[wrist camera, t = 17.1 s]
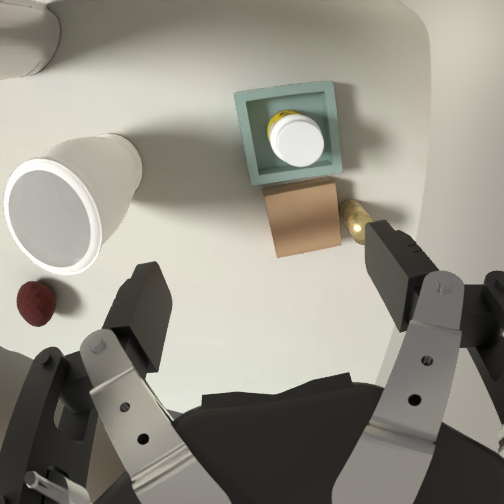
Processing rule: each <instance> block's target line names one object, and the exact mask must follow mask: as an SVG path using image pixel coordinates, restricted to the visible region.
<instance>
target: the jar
mask: <svg viewBox="0 0 504 504" xmlns="http://www.w3.org/2000/svg"><path fill="white" fill-rule="evenodd" d="M141 178H142V162H141V158H140V156H139V153H138V151H137V150H136V148H135V147H134V146H133V145H132V144H131V143H130V142H129V141H128V140H127V139H125V138H123V137H121V136H119V135H115V134H103V135H100V136H97V137H86V138H77V139H72V140H68V141H65V142H62V143H60V144H58V145H56V146H54V147H52V148H50V149H49V150H47V151H46V152H44V153H43V154H42V155H41V156H39V157H35V158H31V159H29V160H27V161H25V162H23V163H22V164H21V165H20V166H18V167H17V168H16V169H15V170H14V171H13V172H12V174H11V175H10V177H9V179H8V181H7V183H6V186H5V190H4V196H3V211H4V217H5V221H6V224H7V227H8V230H9V232H10V235H11V237H12V238H13V240H14V242H15V244H16V245H17V246H18V248H19V249H20V250H21V252H22V253H23V254H24V255H25V256H26V257H27V258H28V259H29V260H30V261H31V262H33V263H34V264H35V265H37V266H38V267H40V268H42V269H44V270H46V271H48V272H51V273H54V274H59V275H73V274H77V273H80V272H82V271H84V270H85V269H87V268H88V267H89V266H90V265H91V264H92V263H93V262H94V260H95V259H96V257H97V255H98V254H99V252H100V250H101V247H102V244H104V243H105V242H106V241H107V240H108V239H109V238H110V237H111V236H112V234H113V233H114V232H115V231H116V230H117V228H118V227H119V225H120V224H121V222H122V220H123V219H124V217H125V215H126V213H127V210H128V208H129V205H130V202H131V200H132V198H133V195H134V192H135V191H136V189H137V188H138V186H139V184H140V182H141Z"/></svg>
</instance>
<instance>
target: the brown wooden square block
mask: <svg viewBox="0 0 504 504" xmlns="http://www.w3.org/2000/svg"><path fill="white" fill-rule="evenodd" d="M263 194H264V199H265V204H266V208H267V213H268V217H269V222H270V227H271V232H272V236H273V241H274V246H275V251H276V255H277V258H280V257H285V256H290V255H295V254H300V253H305V252H310V251H315V250H320V249H325V248H330V247H335V246H340V245H341V233H340V222H339V212H338V202H337V193H336V184H335V182H334V181H333V180H332V178H331V177H330V176H327V177H322V178H316V179H310V180H305V181H300V182H294V183H289V184H284V185H279V186H274V187H269V188H264V189H263Z"/></svg>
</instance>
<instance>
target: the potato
mask: <svg viewBox="0 0 504 504" xmlns="http://www.w3.org/2000/svg"><path fill="white" fill-rule="evenodd" d="M17 308H18V310H19V313H20V314H21V315H22V317H23V318H24V319H25V320H26V321H27V322H28V323H29V324H31V325H32V326H36V327H40V326H43V325H45V324H46V323H47V322H48V321H49V320H50V319H51V317H52V315H53V314H54V311H55V308H56V296H55V294H54V292H53V291H52V289H51V288H50V287H48V286H46V285H44V284H42V283H39V282H36V281H30V282H27V283H25V284H23V285H22V286H21V288H20V290H19V292H18V295H17Z"/></svg>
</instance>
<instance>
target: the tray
mask: <svg viewBox="0 0 504 504" xmlns="http://www.w3.org/2000/svg"><path fill="white" fill-rule="evenodd" d="M234 99H235V104H236V109H237V115H238V120H239V125H240V130H241V135H242V141H243V146H244V151H245V157H246V162H247V167H248V173H249V178H250V183H251V186H255V185H261V184H267V183H273V182H279V181H286V180H293V179H299V178H306V177H314V176H321V175H328V174H336V173H343V172H342V159H341V147H340V136H339V126H338V117H337V109H336V100H335V93H334V85H333V81H321V82H310V83H300V84H291V85H282V86H275V87H267V88H261V89H254V90H248V91H242V92H236V93H234ZM286 109H291V110H296V111H299V112H301V113H302V114H304V115H306V116H308V117H309V118H311V119H312V120H314V121H315V122H316V124H317V125H318V126H319V128H320V130H321V133H322V136H323V139H324V149H323V152H322V154H321V156H320V157H319V159H318V160H317V161H316V162H314V163H313V164H311V165H308V166H304V167H297V166H293V165H290V164H288V163H287V162H285V161H283V160H281V159H280V158H279V157H278V156H277V155H276V154H275V153H274V151H273V149H272V147H271V144H270V141H269V139H268V136H267V125H268V122H269V120H270V118H271V117H272V116H273V115H274V114H275V113H277V112H279V111H281V110H286Z"/></svg>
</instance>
